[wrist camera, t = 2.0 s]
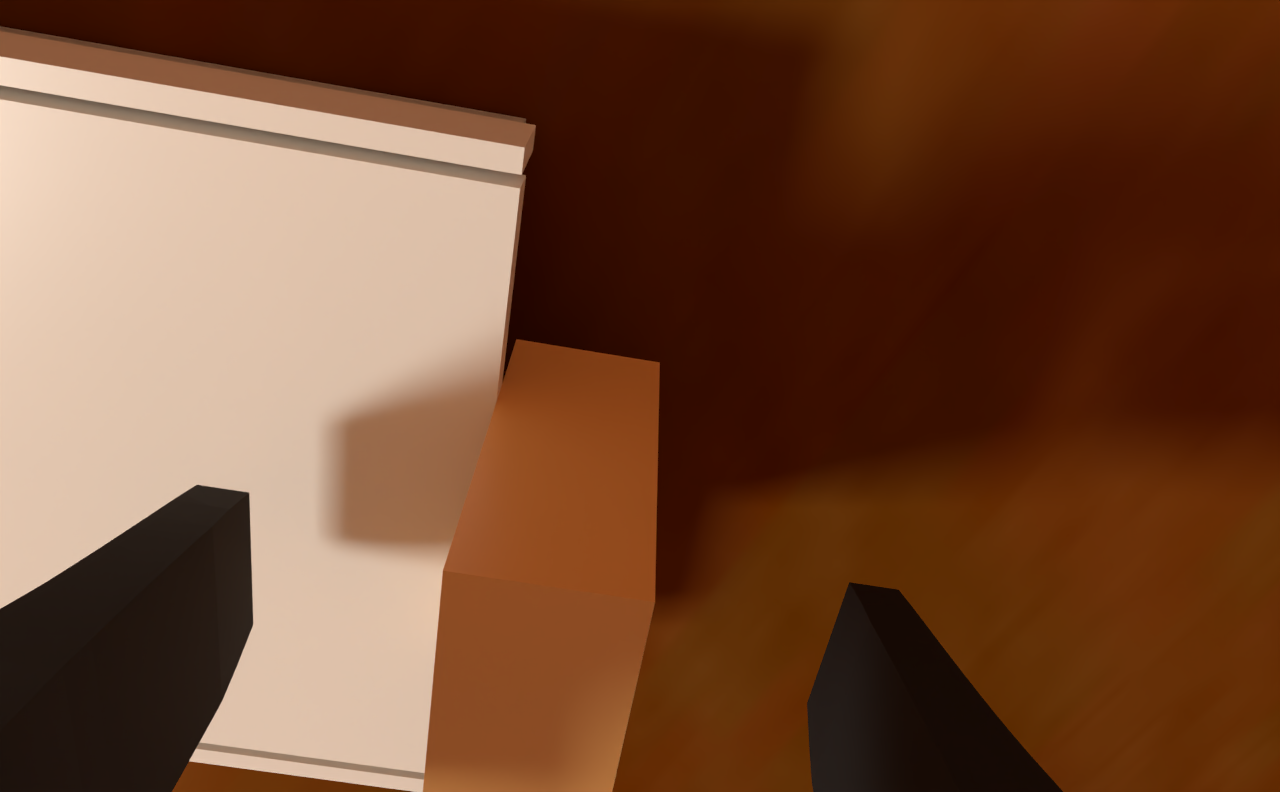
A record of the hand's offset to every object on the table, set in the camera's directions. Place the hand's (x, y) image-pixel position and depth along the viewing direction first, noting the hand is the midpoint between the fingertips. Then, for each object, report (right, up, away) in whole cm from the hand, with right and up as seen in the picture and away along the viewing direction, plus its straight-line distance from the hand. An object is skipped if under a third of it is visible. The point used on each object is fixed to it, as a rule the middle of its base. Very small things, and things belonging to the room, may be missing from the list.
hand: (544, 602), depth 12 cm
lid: (-6, +2, +2) cm, 7 cm away
